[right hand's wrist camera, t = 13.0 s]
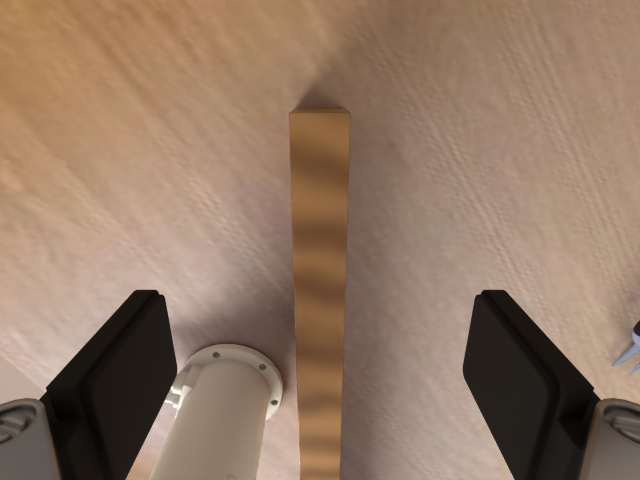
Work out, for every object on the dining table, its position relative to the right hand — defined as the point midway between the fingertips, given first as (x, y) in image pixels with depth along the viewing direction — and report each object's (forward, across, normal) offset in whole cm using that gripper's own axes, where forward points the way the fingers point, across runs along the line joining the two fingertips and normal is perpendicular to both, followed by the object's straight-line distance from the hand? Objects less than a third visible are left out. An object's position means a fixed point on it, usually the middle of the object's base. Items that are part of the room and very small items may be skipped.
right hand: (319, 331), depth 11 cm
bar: (+27, 0, -28) cm, 39 cm away
